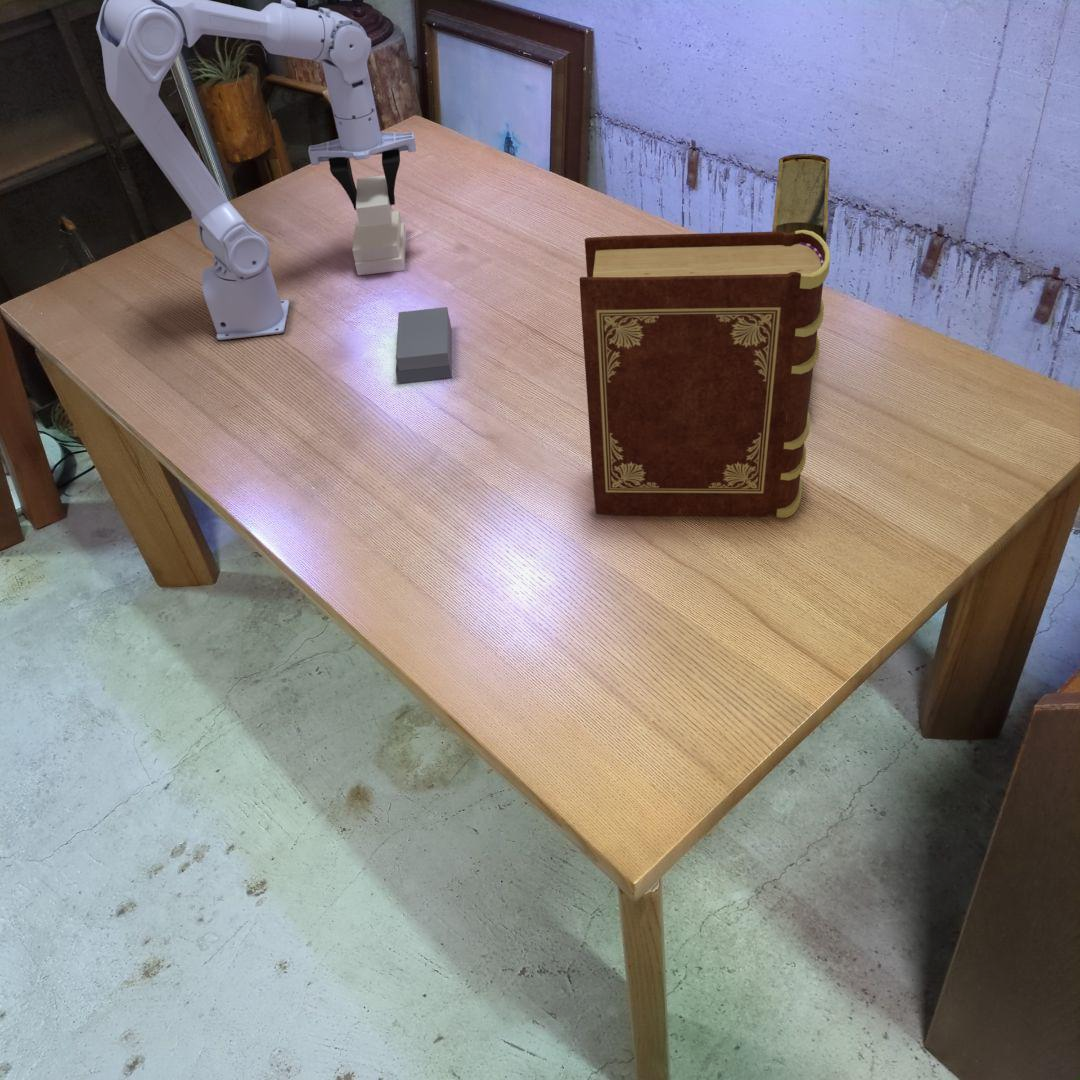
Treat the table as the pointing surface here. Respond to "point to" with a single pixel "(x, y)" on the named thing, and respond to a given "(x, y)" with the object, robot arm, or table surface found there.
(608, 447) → the decorative book
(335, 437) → the table surface
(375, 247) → the cream stack
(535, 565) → the table surface
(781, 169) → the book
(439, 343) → the grey stack
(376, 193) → the cream rectangular block
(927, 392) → the table surface
